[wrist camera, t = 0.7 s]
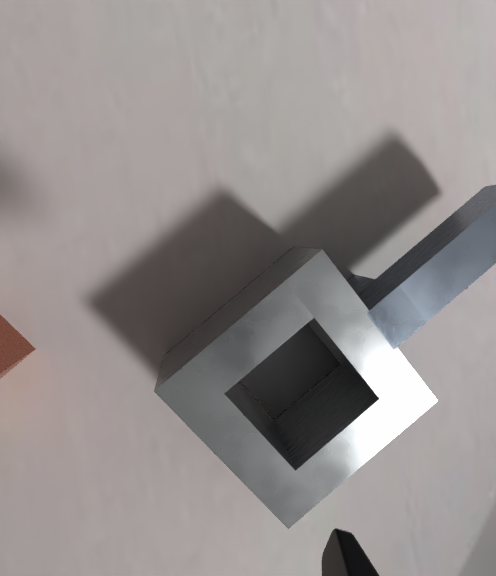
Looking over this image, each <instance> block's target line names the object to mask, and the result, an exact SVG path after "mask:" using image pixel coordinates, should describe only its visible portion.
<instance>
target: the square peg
mask: <svg viewBox="0 0 496 576" xmlns="http://www.w3.org/2000/svg"><path fill="white" fill-rule="evenodd" d="M34 350H35V348H34V347H33V346H32V345H31V344H30V343H29V342H28V341H27V340H26V339H25V338H24V337H23V336H22V335H21V334H20V333H19V332H18V331H17V330H15V329H14V328H13V327H12V326H11V325H10V324H9V323H8V322H7V321H6V320H5V319H4V318H3V317H2V316H1V315H0V378H2V377H3V376H4V375H5V374H6V373H8V372H9V371H10V370H11V369H12V368H14V367H15V366H16V365H17V364H18V363H20V362H21V361H22V360H23V359H24V358H26V357H27V356H28V355H29V354H30V353H32V352H33V351H34Z"/></svg>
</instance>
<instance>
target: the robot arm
mask: <svg viewBox="0 0 496 576" xmlns="http://www.w3.org/2000/svg"><path fill="white" fill-rule="evenodd" d="M322 576H379V574H378V573H377V571H376V570H375V568H374V566H373V565H372V563H371V562H370V560H369V559H368V557H367V555H366V554H365V552H364V551H363V549H362V548H361V546H360V544H359V543H358V541H357V540H356V538H355V537H354V535H353V534H352V533H351V532H349V531H345V530H341V529H334V530H333V531H332V533H331V535H330V538H329V540H328V542H327V545H326V547H325V549H324V552H323V556H322Z"/></svg>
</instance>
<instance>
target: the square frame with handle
mask: <svg viewBox="0 0 496 576" xmlns="http://www.w3.org/2000/svg"><path fill="white" fill-rule="evenodd" d="M495 263H496V185H491V186H486V187H484V188H483V189H482V190H480V191H479V192H478V193H477V194H476V195H474V196H473V197H472V198H471V199H470V200H469V201H467V202H466V203H465V204H464V205H463V206H461V207H460V208H459V209H458V210H457V211H456V212H454V213H453V214H452V215H451V216H450V217H448V218H447V219H446V220H445V221H444V222H443V223H441V224H440V225H439V226H438V227H437V228H435V229H434V230H433V231H432V232H431V233H430V234H428V235H427V236H426V237H425V238H424V239H422V240H421V241H420V242H419V243H418V244H417V245H415V246H414V247H413V248H412V249H411V250H410V251H408V252H407V253H406V254H405V255H404V256H402V257H401V258H400V259H399V260H398V261H397V262H395V263H394V264H393V265H392V266H391V267H389V268H388V269H387V270H386V271H385V272H384V273H382V274H381V275H380V276H379V277H378V278H376V279H371V278H367V277H363V276H358V275H354V276H353V277H351V278H350V279H349V280H348V281H346V280H345V278H344V277H343V276H342V274H341V273H340V272H339V270H338V269H337V268H336V266H335V265H334V264H333V262H332V261H331V260H330V258H329V257H328V256H327V255H326V253H325V252H324V251H323V249H314V248H304V247H293V248H292V249H290V250H289V251H288V252H287V253H286V254H284V255H283V256H282V257H281V258H280V259H278V260H277V261H276V262H275V263H274V264H272V265H271V266H270V267H269V268H268V269H267V270H265V271H264V272H263V273H262V274H261V275H259V276H258V277H257V278H256V279H255V280H253V281H252V282H251V283H250V284H249V285H248V286H246V287H245V288H244V289H243V290H242V291H240V292H239V293H238V294H237V295H236V296H234V297H233V298H232V299H231V300H230V301H228V302H227V303H226V304H225V305H224V306H223V307H221V308H220V309H219V310H218V311H217V312H215V313H214V314H213V315H212V316H211V317H209V318H208V319H207V320H206V321H205V322H204V323H202V324H201V325H200V326H199V327H198V328H196V329H195V330H194V331H193V332H192V333H190V334H189V335H188V336H187V337H186V338H184V339H183V340H182V341H181V342H180V343H179V344H177V345H176V346H175V347H174V348H173V349H171V350H170V351H169V352H168V353H167V354H165V355H164V358H163V362H162V365H161V369H160V372H159V376H158V379H157V383H156V386H155V390H154V392H155V393H156V394H157V395H158V396H159V397H160V398H161V399H162V400H163V401H164V402H165V403H166V404H167V405H168V406H169V407H170V408H171V409H172V410H173V411H174V412H175V413H176V414H177V415H178V416H179V417H180V418H181V419H182V420H183V421H184V422H185V424H186V425H187V426H188V427H189V428H190V429H191V430H192V431H193V432H194V433H195V434H196V435H197V436H198V437H199V438H200V439H201V440H202V441H203V442H204V443H205V444H206V445H207V446H208V447H209V448H210V449H211V450H212V451H213V452H214V453H215V454H216V455H217V456H218V457H219V458H220V459H221V460H222V461H223V462H224V463H225V464H226V466H227V467H228V468H229V469H230V470H231V471H232V472H233V473H234V474H235V475H236V476H237V477H238V478H239V479H240V480H241V481H242V482H243V483H244V484H245V485H246V486H247V487H248V488H249V489H250V490H251V491H252V492H253V493H254V494H255V495H256V496H257V497H258V498H259V499H260V500H261V501H262V502H263V503H264V504H265V505H266V507H267V508H268V509H269V510H270V511H271V512H272V513H273V514H274V515H275V516H276V517H277V518H278V519H279V520H280V521H281V522H282V523H283V524H284V525H285V526H286V527H287V528H288V529H289V528H290V527H291V526H292V525H293V524H295V523H296V522H297V521H298V520H299V519H300V518H302V517H303V516H304V515H305V514H306V513H307V512H309V511H310V510H311V509H312V508H313V507H314V506H316V505H317V504H318V503H319V502H320V501H321V500H323V499H324V498H325V497H326V496H327V495H328V494H330V493H331V492H332V491H333V490H334V489H335V488H337V487H338V486H339V485H340V484H341V483H342V482H344V481H345V480H346V479H347V478H348V477H349V476H351V475H352V474H353V473H354V472H355V471H356V470H358V469H359V468H360V467H361V466H362V465H363V464H365V463H366V462H367V461H368V460H369V459H370V458H372V457H373V456H374V455H375V454H376V453H377V452H379V451H380V450H381V449H382V448H383V447H384V446H386V445H387V444H388V443H389V442H390V441H391V440H393V439H394V438H395V437H396V436H397V435H398V434H400V433H401V432H402V431H403V430H404V429H405V428H407V427H408V426H409V425H410V424H411V423H412V422H414V421H415V420H416V419H417V418H418V417H419V416H421V415H422V414H423V413H424V412H425V411H426V410H428V409H429V408H430V407H431V406H432V405H433V404H435V403H436V402H437V401H438V400H437V399H436V398H435V396H434V395H433V394H432V393H431V391H430V390H429V389H428V387H427V386H426V385H425V383H424V382H423V381H422V379H421V378H420V377H419V375H418V374H417V373H416V371H415V370H414V369H413V368H412V366H411V365H410V364H409V362H408V361H407V360H406V358H405V357H404V356H403V354H402V353H401V352H400V350H399V349H398V348H397V347H398V346H399V345H400V344H401V343H402V342H404V341H405V340H406V339H407V338H408V337H409V336H411V335H412V334H413V333H414V332H415V331H417V330H418V329H419V328H420V327H421V326H422V325H424V324H425V323H426V322H427V321H428V320H429V319H431V318H432V317H433V316H434V315H435V314H436V313H438V312H439V311H440V310H441V309H442V308H444V307H445V306H446V305H447V304H448V303H449V302H451V301H452V300H453V299H454V298H455V297H456V296H458V295H459V294H460V293H461V292H462V291H463V290H465V289H466V288H467V287H468V286H469V285H471V284H472V283H473V282H474V281H475V280H476V279H478V278H479V277H480V276H481V275H482V274H483V273H485V272H486V271H487V270H488V269H489V268H491V267H492V266H493V265H494V264H495ZM307 323H308V325H309V326H310V327H311V328H312V330H313V331H314V332H315V333H316V334H317V336H318V337H319V338H320V339H321V341H322V342H323V343H324V344H325V345H326V347H327V348H328V349H329V350H330V352H331V353H332V354H333V355H334V357H335V358H336V359H337V360H338V361H339V363H340V365H339V366H338V367H336V368H335V369H334V370H333V371H332V372H331V373H329V374H328V375H327V376H326V377H325V378H324V379H322V380H321V381H320V382H319V383H318V384H316V385H315V386H314V387H313V388H312V389H311V390H309V391H308V392H307V393H306V394H305V395H304V396H302V397H301V398H300V399H299V400H298V401H296V402H295V403H294V404H293V405H292V406H291V407H289V408H288V409H287V410H286V411H285V412H284V413H282V414H281V415H280V416H279V417H278V418H276V419H275V420H274V419H273V418H272V417H271V416H270V415H269V414H268V413H267V412H266V411H265V409H264V408H263V407H262V406H261V405H260V404H259V403H258V402H257V401H256V399H255V398H254V397H253V396H252V395H251V394H250V393H249V392H248V391H247V389H246V388H245V387H244V386H243V385H242V384H241V383H240V382H239V381H240V380H241V379H242V378H243V377H244V376H245V375H247V374H248V373H249V372H250V371H251V370H253V369H254V368H255V367H256V366H257V365H258V364H260V363H261V362H262V361H263V360H264V359H266V358H267V357H268V356H269V355H270V354H271V353H273V352H274V351H275V350H276V349H277V348H279V347H280V346H281V345H282V344H283V343H285V342H286V341H287V340H288V339H289V338H290V337H292V336H293V335H294V334H295V333H296V332H298V331H299V330H300V329H301V328H302V327H303V326H305V325H306V324H307Z"/></svg>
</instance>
